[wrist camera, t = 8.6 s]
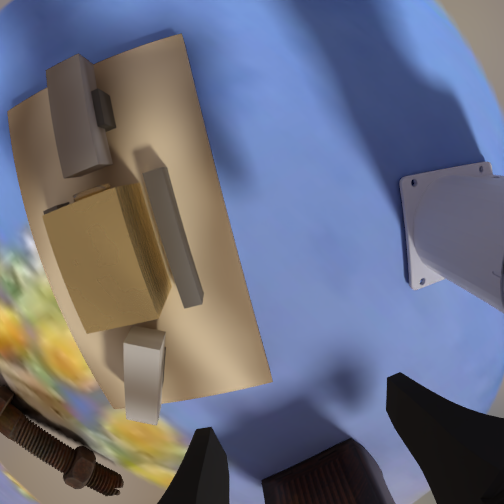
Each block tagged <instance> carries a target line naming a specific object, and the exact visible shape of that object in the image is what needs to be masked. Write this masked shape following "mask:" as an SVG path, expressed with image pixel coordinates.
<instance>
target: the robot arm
mask: <svg viewBox="0 0 504 504" xmlns="http://www.w3.org/2000/svg"><path fill="white" fill-rule="evenodd" d="M479 168H480V171H479ZM412 180H414V185H413V186H412V185H411V181H412ZM399 185H400V192H401V199H402V207H403V215H404V223H405V233H406V243H407V256H408V271H409V286H410V287H411V288H412V289H413V290H418V289H420V288H423V287H426V286H428V285H431V284H433V283H436V282H438V281H441V280H443V279H447V280H449V281H451V282H453V283H454V284H456V285H458V286H459V287H461V288H463V289H465V290H466V291H468V292H470V293H471V294H473V295H475V296H476V297H478V298H480V299H481V300H483V301H484V302H486V303H488V304H489V305H491V306H493V307H494V308H496V309H497V310H499V311H501V312H502V313H504V176H500V175H493V173H492V166H491V164H490V162H479V163H473V164H468V165H462V166H456V167H451V168H445V169H440V170H435V171H429V172H424V173H419V174H414V175H409V176H404V177H402V178H401V179H400V182H399ZM422 278H423V279H422ZM421 279H422V282H421V283H420V280H421ZM386 411H387V413H388V415H389V417H390V420H391V422H392V424H393V426H394V428H395V430H396V431H397V433H398V434H399V436H400V437H401V439H402V440H403V442H404V443H405V445H406V446H407V448H408V449H409V451H410V452H411V454H412V455H413V457H414V458H415V460H416V461H417V463H418V464H419V466H420V468H421V470H422V471H423V474H424V476H425V478H426V480H427V482H428V484H429V486H430V488H431V491H432V493H433V495H434V498H435V500H436V503H437V504H504V418H499V417H495V416H490V415H486V414H483V413H479V412H476V411H473V410H470V409H468V408H465V407H462V406H460V405H458V404H456V403H453V402H451V401H449V400H447V399H445V398H443V397H441V396H440V395H438V394H436V393H434V392H432V391H430V390H429V389H427V388H425V387H424V386H422V385H420V384H419V383H417V382H415V381H414V380H412V379H410V378H409V377H407V376H406V375H404V374H402V373H401V372H399V373H397V374H395V375H392V376H390V377H387V399H386ZM157 504H229V470H228V462H227V455H226V453H225V451H224V450H223V448H222V446H221V444H220V442H219V440H218V439H217V437H216V435H215V433H214V431H213V429H212V427H207V428H201V429H196V431H195V433H194V435H193V438H192V440H191V443H190V445H189V448H188V450H187V452H186V454H185V457H184V459H183V461H182V463H181V465H180V467H179V469H178V471H177V473H176V475H175V476H174V478H173V480H172V482H171V483H170V485H169V487H168V488H167V490H166V492H165V493H164V495H163V496H162V498H161V499H160V500H159V502H158V503H157Z"/></svg>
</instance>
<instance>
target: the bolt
mask: <svg viewBox="0 0 504 504" xmlns="http://www.w3.org/2000/svg"><path fill="white" fill-rule="evenodd" d="M13 396H14V393H12V392H11V391H10V390H9V389H8V388H7V387H6V386H0V432H1V433H2V434H3V435H5V436H6V437H7V438H9V439H11V440H13V441H14V442H15V441H16V443H17V444H18V443H19V445H20V446H21V445H22V447H23V448H24V447H25V450H27V449H28V452H30V451H31V454H33V453H34V456H37V458H40V460H41V459H42V460H43V462H44V461H45V462H46V463H49V465H52V467H55V469H58V471H59V470H60V471H61V472H63V473H64V475H63V479H64V481H65V483H66V484H67V485H69V486H71V487H73V488H74V489H81V488H83V487H84V486H87V487H90V488H91V489H92V488H93V490H96V491H97V492H99V493H102V494H103V495H105V496H108V495H109V496H112V495H119V494H120V491H119V490H117V489H114V488H121V487H123V483H124V482H123V479H122V477H121V475H120V474H118V473H117V472H115V471H113V470H110V469H109V468H107V467H104V466H103V465H101V464H98V463H97V462H96V457H95V455H94V453H93V452H92V451H90V450H88V449H87V448H85V447H83V446H79V447H77V448H76V449H75V450H74V449H72V448H71V447H69V446H68V445H67V446H66V444H63V442H60V440H57V438H54V436H51V434H48V432H46V431H45V430H44V431H43V429H42V428H41V429H40V426H38V427H37V424H35V425H34V422H31V420H30V421H29V419H28V418H26V416H25V415H23V413H22V412H21V411H19V410H18V409H17V408H16V407H14V406H13V405H12V404H11V401H12V398H13Z"/></svg>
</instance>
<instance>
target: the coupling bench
mask: <svg viewBox="0 0 504 504" xmlns="http://www.w3.org/2000/svg"><path fill="white" fill-rule="evenodd" d="M46 78H47V88H45V89H43V90H41V91H40V92H38V93H36V94H34V95H33V96H31V97H29V98H28V99H26V100H24V101H23V102H21V103H20V104H18V105H16V106H15V107H13V108H12V109H10V110H9V111H7V112H8V122H9V130H10V137H11V144H12V150H13V156H14V162H15V167H16V172H17V177H18V182H19V186H20V190H21V195H22V199H23V203H24V207H25V210H26V214H27V218H28V221H29V225H30V228H31V231H32V235H33V238H34V241H35V244H36V247H37V250H38V253H39V256H40V259H41V262H42V265H43V268H44V270H45V273H46V276H47V278H48V281H49V283H50V286H51V288H52V291H53V293H54V296H55V298H56V301H57V303H58V305H59V308H60V310H61V312H62V314H63V317H64V319H65V321H66V323H67V325H68V327H69V329H70V332H71V334H72V336H73V338H74V340H75V342H76V344H77V346H78V348H79V350H80V351H81V353H82V355H83V357H84V359H85V361H86V363H87V365H88V366H89V368H90V370H91V372H92V374H93V375H94V377H95V379H96V381H97V382H98V384H99V386H100V387H101V389H102V391H103V392H104V394H105V396H106V397H107V399H108V400H109V402H110V404H111V405H112V407H113V408H114V409H119V408H126V419H129V420H133V421H138V422H142V423H147V424H152V425H157V423H158V418H159V414H160V409H161V404H163V403H170V402H177V401H183V400H189V399H195V398H201V397H206V396H211V395H217V394H222V393H227V392H231V391H236V390H241V389H245V388H249V387H254V386H258V385H262V384H266V383H270V382H273V381H272V377H271V372H270V368H269V365H268V361H267V358H266V354H265V350H264V347H263V343H262V340H261V336H260V332H259V329H258V325H257V321H256V318H255V314H254V311H253V307H252V303H251V300H250V296H249V292H248V289H247V285H246V281H245V277H244V274H243V270H242V266H241V263H240V259H239V255H238V251H237V248H236V244H235V240H234V236H233V233H232V229H231V225H230V221H229V217H228V214H227V210H226V206H225V202H224V198H223V194H222V191H221V187H220V183H219V179H218V175H217V171H216V167H215V163H214V160H213V156H212V152H211V148H210V144H209V140H208V136H207V132H206V128H205V124H204V120H203V116H202V112H201V108H200V104H199V100H198V96H197V92H196V88H195V84H194V80H193V76H192V72H191V67H190V63H189V59H188V55H187V51H186V47H185V43H184V40H183V36H182V33H181V34H178V35H174V36H171V37H167V38H164V39H161V40H157V41H154V42H151V43H148V44H145V45H142V46H139V47H136V48H133V49H131V50H128V51H125V52H123V53H120V54H117V55H115V56H112V57H110V58H107V59H105V60H103V61H100V62H98V63H96V64H92V63H91V62H90V61H88V60H87V59H86V58H84V57H83V56H81V55H80V54H79V53H78V54H76V55H74V56H72V57H70V58H68V59H66V60H64V61H62V62H60V63H58V64H57V65H55V66H53V67H51V68H49V69H47V70H46ZM106 183H110V185H111V188H114V187H119V186H124V185H129V184H135V183H140V184H141V188H142V192H143V195H144V199H145V202H146V206H147V209H148V213H149V216H150V220H151V223H152V226H153V230H154V233H155V236H156V239H157V242H158V246H159V249H160V252H161V255H162V258H163V261H164V264H165V267H166V270H167V273H168V276H169V279H170V282H171V285H172V288H171V290H170V292H169V295H168V297H167V300H166V302H165V305H164V307H163V310H162V312H161V315H160V317H159V319H155V320H151V321H146V322H142V323H137V324H132V325H128V326H123V327H118V328H114V329H109V330H104V331H99V332H94V333H89V334H87V333H86V331H85V329H84V327H83V325H82V323H81V321H80V318H79V316H78V314H77V312H76V309H75V307H74V305H73V302H72V300H71V298H70V295H69V293H68V290H67V288H66V285H65V283H64V280H63V278H62V275H61V272H60V270H59V267H58V264H57V261H56V258H55V256H54V253H53V250H52V247H51V244H50V241H49V238H48V234H47V231H46V228H45V225H44V221H43V218H42V216H43V215H45V214H47V213H50V212H52V211H54V210H57V209H59V208H62V207H64V206H67V205H69V204H72V203H74V199H73V195H75V194H77V193H79V192H82V191H84V190H87V189H90V188H93V187H96V186H99V185H102V184H106Z"/></svg>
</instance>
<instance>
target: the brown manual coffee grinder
mask: <svg viewBox="0 0 504 504" xmlns="http://www.w3.org/2000/svg"><path fill="white" fill-rule="evenodd" d="M261 484H262V486H263V493H264V499H265V504H395V502H394V500H393V498H392V496H391V494H390V492H389V490H388V488H387V485H386V483H385V480H384V478H383V474H382V471H381V469H380V468H379V466H378V464H377V463H376V461H375V460H374V459H373V458H372V457H371V455H370V454H369V453H368V452H367V451H366V450H365V448H364V447H363V446H361V445H360V444H358V443H357V442H355V441H354V440H352V439H348V440H346V441H344V442H341V443H339V444H337V445H334V446H333V447H331V448H329V449H327V450H325V451H323V452H321V453H319V454H317V455H315V456H313V457H311V458H309V459H307V460H304V461H302V462H300V463H298V464H296V465H294V466H292V467H290V468H288V469H286V470H284V471H281V472H279V473H277V474H275V475H273V476H270V477H268V478H266V479H264V480H262V483H261Z"/></svg>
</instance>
